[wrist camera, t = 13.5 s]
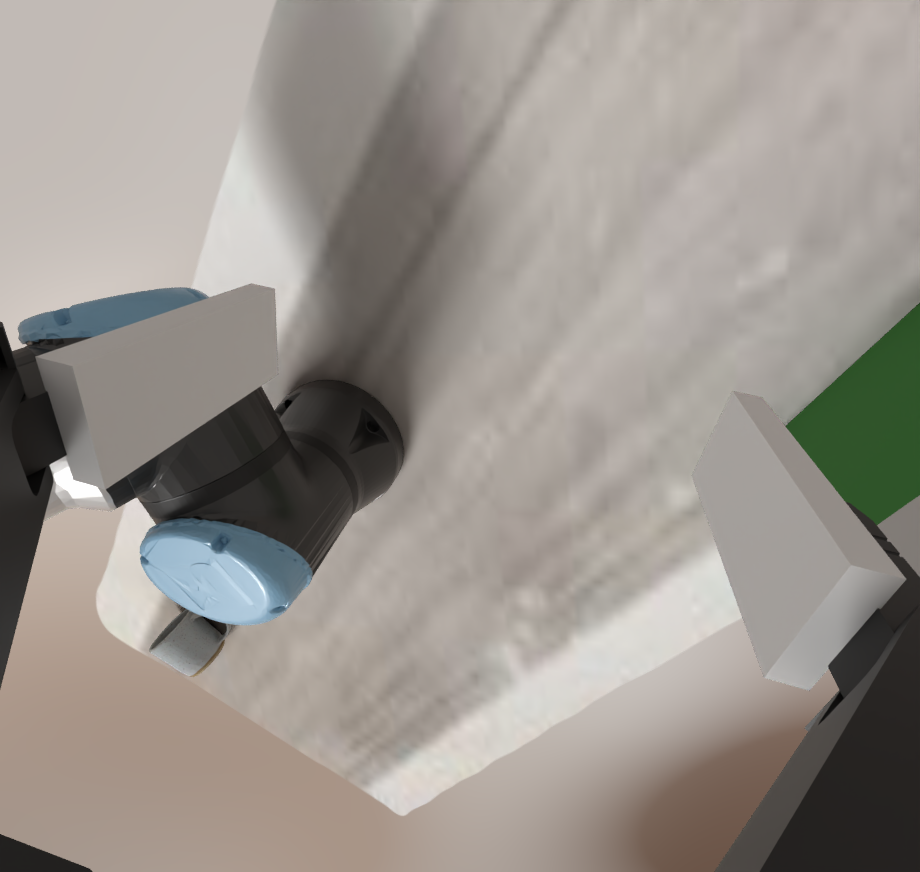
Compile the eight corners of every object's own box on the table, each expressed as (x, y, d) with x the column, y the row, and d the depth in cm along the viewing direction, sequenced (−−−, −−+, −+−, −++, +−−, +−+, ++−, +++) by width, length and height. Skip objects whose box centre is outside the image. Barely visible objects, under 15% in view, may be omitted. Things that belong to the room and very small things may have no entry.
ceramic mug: (213, 647, 82) (181, 689, 75) (175, 616, 80) (139, 656, 73) (247, 626, 77) (216, 668, 71) (207, 592, 75) (172, 632, 69)
